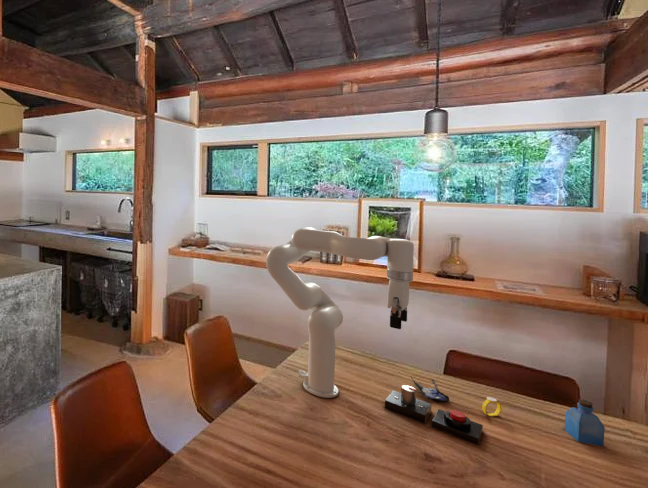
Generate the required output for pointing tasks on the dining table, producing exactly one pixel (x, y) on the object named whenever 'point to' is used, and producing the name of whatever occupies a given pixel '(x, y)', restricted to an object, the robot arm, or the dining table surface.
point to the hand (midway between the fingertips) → (398, 324)
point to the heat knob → (408, 395)
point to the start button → (457, 415)
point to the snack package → (432, 392)
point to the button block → (458, 427)
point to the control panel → (408, 407)
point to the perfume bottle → (584, 424)
